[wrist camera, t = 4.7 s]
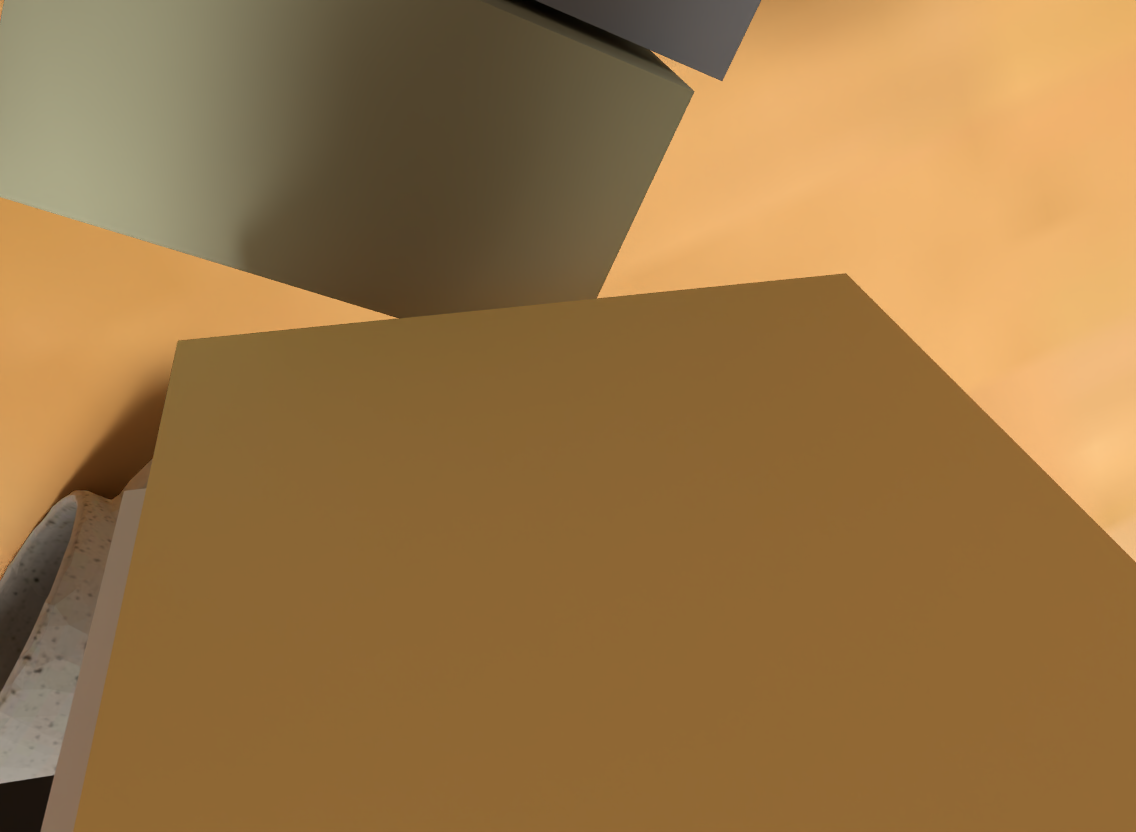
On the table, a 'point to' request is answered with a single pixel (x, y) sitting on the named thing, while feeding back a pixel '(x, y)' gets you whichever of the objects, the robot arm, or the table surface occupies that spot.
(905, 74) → the table surface
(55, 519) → the ceramic mug
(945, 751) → the ochre book
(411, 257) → the brown wooden box
